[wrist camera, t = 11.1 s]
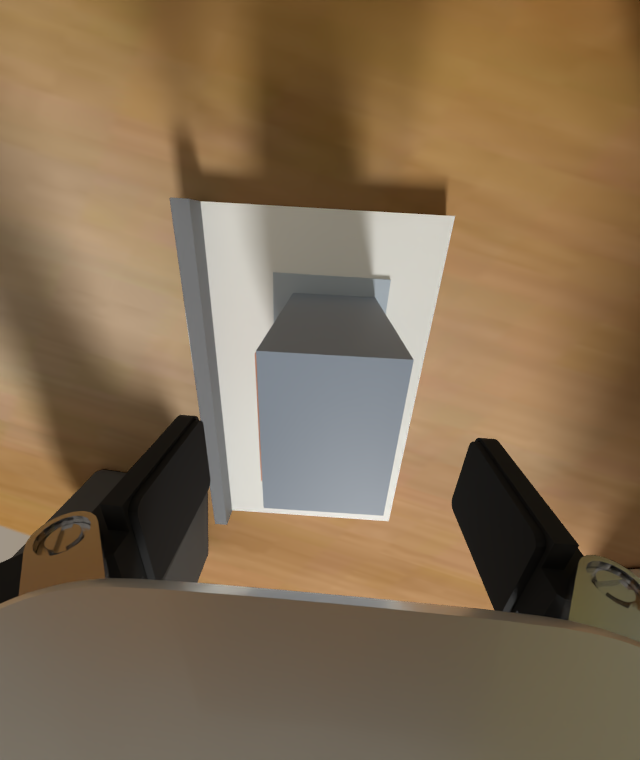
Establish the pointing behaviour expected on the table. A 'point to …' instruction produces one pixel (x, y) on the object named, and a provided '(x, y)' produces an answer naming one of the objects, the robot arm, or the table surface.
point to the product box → (330, 404)
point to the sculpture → (191, 548)
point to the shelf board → (269, 296)
